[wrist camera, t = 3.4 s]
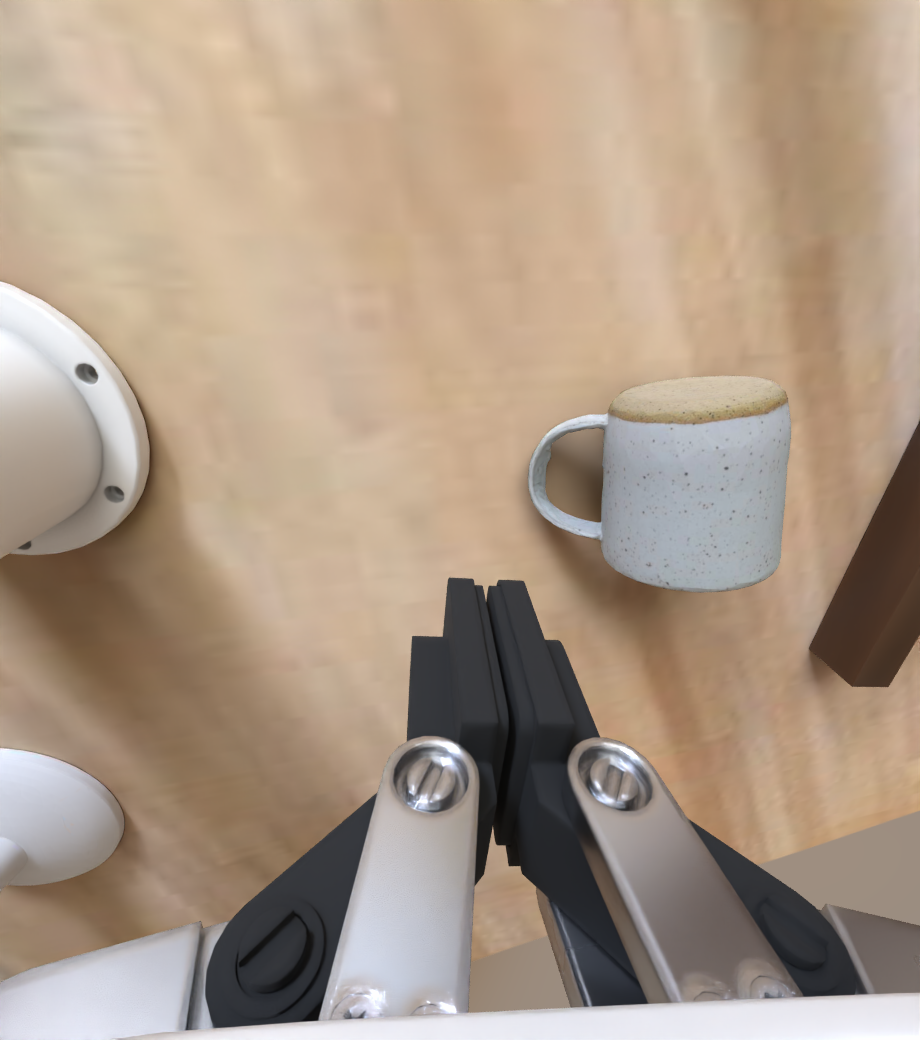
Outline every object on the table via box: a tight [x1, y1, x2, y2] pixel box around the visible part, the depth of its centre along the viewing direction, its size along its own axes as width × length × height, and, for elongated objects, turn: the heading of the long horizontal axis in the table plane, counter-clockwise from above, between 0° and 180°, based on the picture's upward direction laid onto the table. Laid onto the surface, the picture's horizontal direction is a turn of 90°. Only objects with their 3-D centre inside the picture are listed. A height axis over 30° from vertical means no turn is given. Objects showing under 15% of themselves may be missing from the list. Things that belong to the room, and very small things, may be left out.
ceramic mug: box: [528, 376, 791, 593], centre depth 21 cm, size 11×8×8 cm
